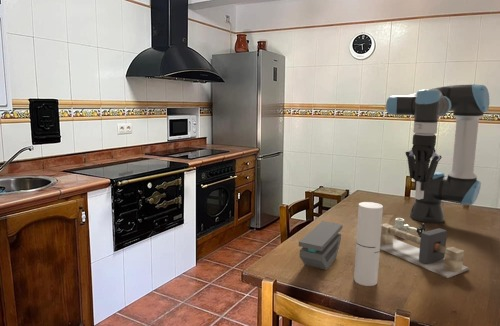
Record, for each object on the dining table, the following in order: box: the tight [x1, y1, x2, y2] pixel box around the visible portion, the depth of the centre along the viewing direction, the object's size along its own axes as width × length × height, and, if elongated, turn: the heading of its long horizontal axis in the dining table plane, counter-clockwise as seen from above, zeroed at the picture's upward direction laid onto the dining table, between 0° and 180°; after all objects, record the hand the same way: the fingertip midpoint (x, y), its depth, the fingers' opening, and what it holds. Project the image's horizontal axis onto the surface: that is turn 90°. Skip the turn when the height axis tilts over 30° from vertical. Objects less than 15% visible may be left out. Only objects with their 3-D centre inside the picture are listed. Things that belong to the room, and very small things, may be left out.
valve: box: [393, 217, 426, 238], centre depth 159 cm, size 7×7×12 cm
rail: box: [380, 222, 470, 279], centre depth 137 cm, size 32×12×8 cm, turn 31°
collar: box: [419, 227, 448, 264], centre depth 131 cm, size 3×10×10 cm, turn 120°
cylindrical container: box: [353, 201, 384, 287], centre depth 117 cm, size 7×7×25 cm
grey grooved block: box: [298, 220, 343, 271], centre depth 131 cm, size 25×8×11 cm, turn 151°
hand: (419, 198), depth 135 cm, fingers closed
